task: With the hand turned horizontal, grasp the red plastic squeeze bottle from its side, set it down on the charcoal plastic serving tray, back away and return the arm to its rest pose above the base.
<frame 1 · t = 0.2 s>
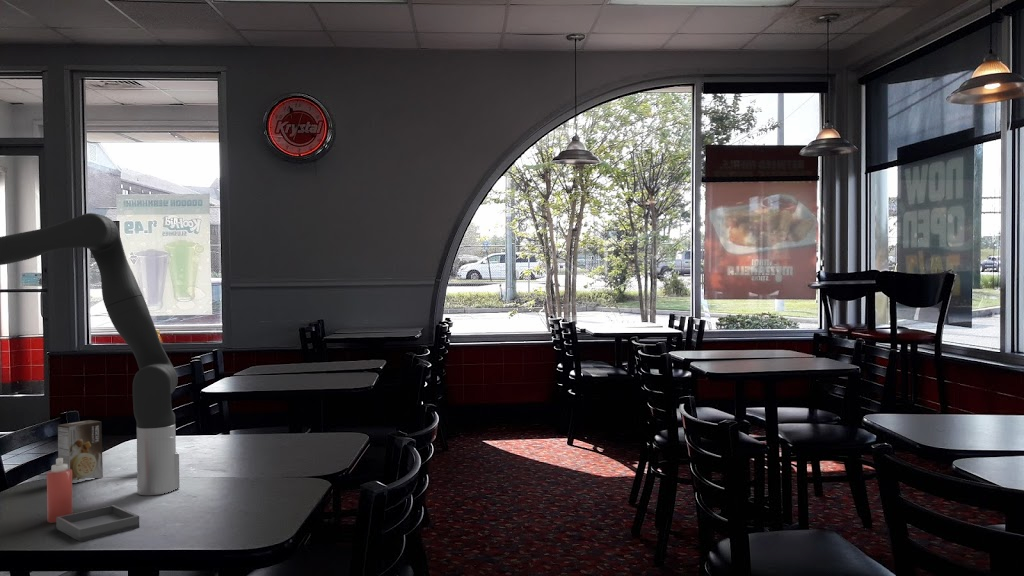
coffee box: (80, 480, 208), on the table
tray: (97, 527, 164), on the table
bottle: (60, 519, 171), on the table
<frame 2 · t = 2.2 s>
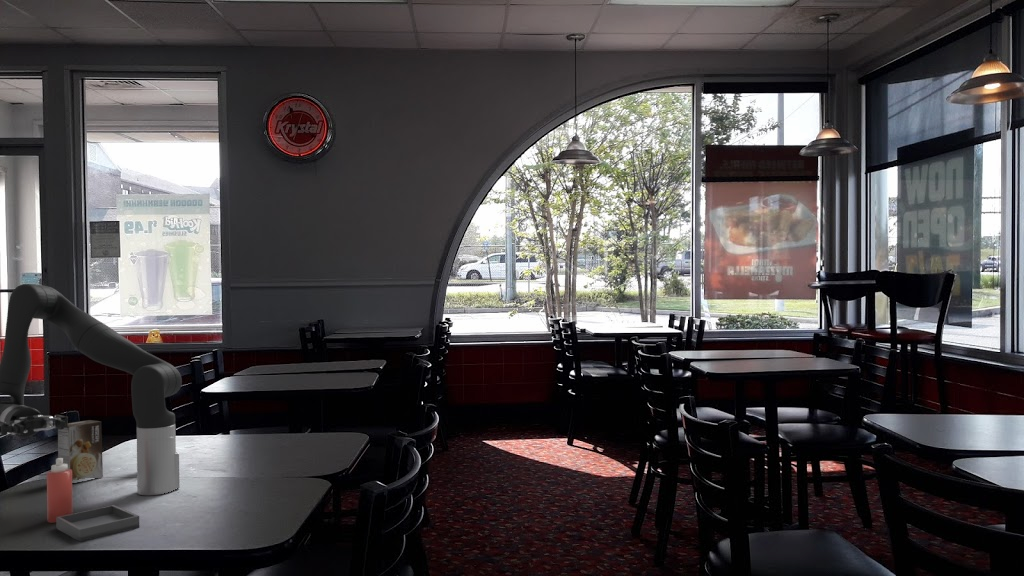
hand: (42, 427, 178), 20 cm above the table, tool horizontal, fingers open, 8 cm apart
nothing on the table moved.
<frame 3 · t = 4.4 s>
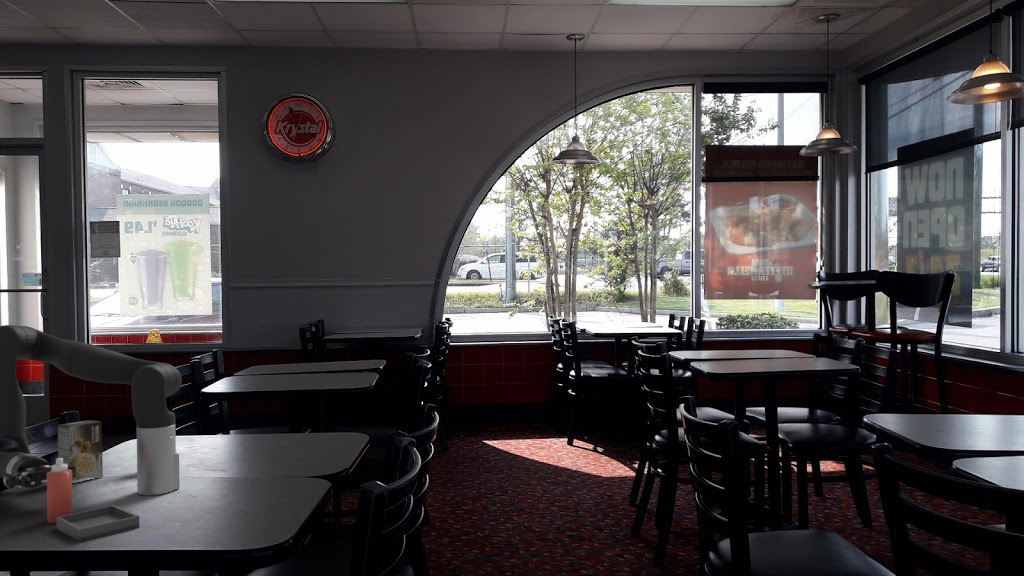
hand: (50, 480, 175), 8 cm above the table, tool horizontal, fingers open, 8 cm apart
nothing on the table moved.
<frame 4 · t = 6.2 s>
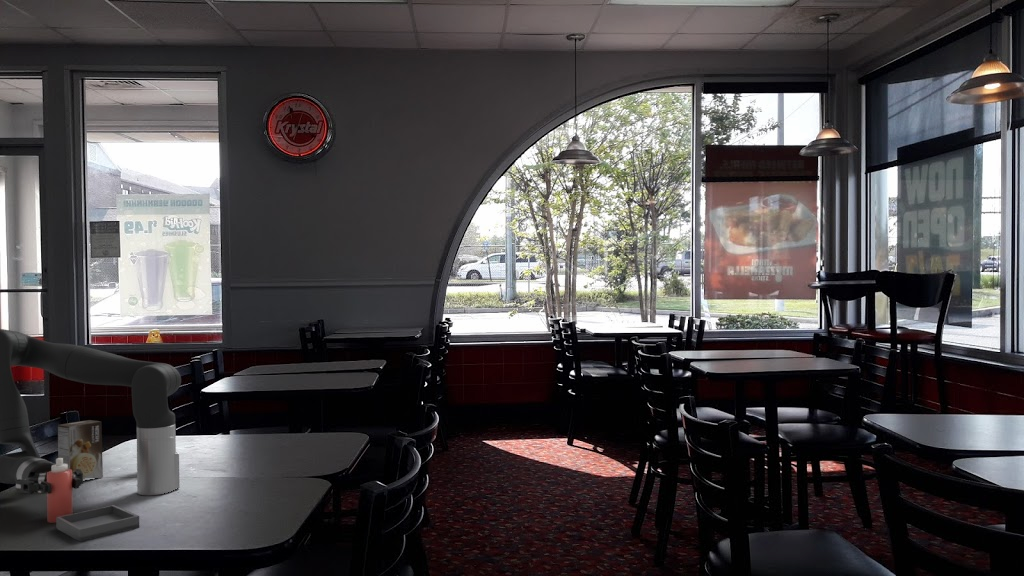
hand: (63, 486, 169), 8 cm above the table, tool horizontal, fingers closed on bottle, 5 cm apart
bottle: (60, 519, 171), on the table, touching gripper
everything else where it was.
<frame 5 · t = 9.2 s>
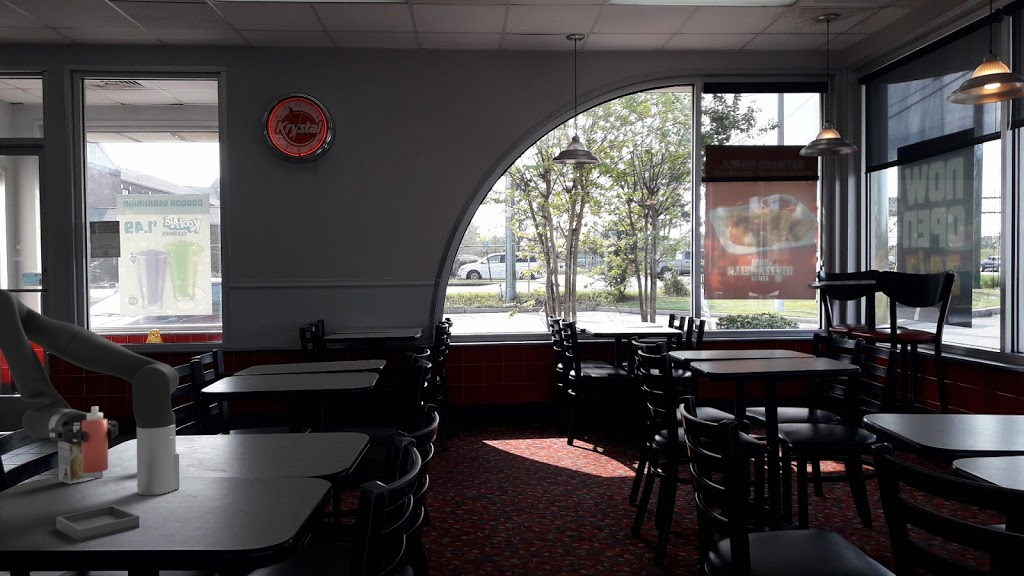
hand: (99, 435, 162), 21 cm above the table, tool horizontal, fingers closed on bottle, 5 cm apart
bottle: (94, 470, 164), point 13 cm above the table, touching gripper
everything else where it was.
when the fingers open (10 cm above the table, at t = 11.7 s): bottle drops 1 cm, resting on tray.
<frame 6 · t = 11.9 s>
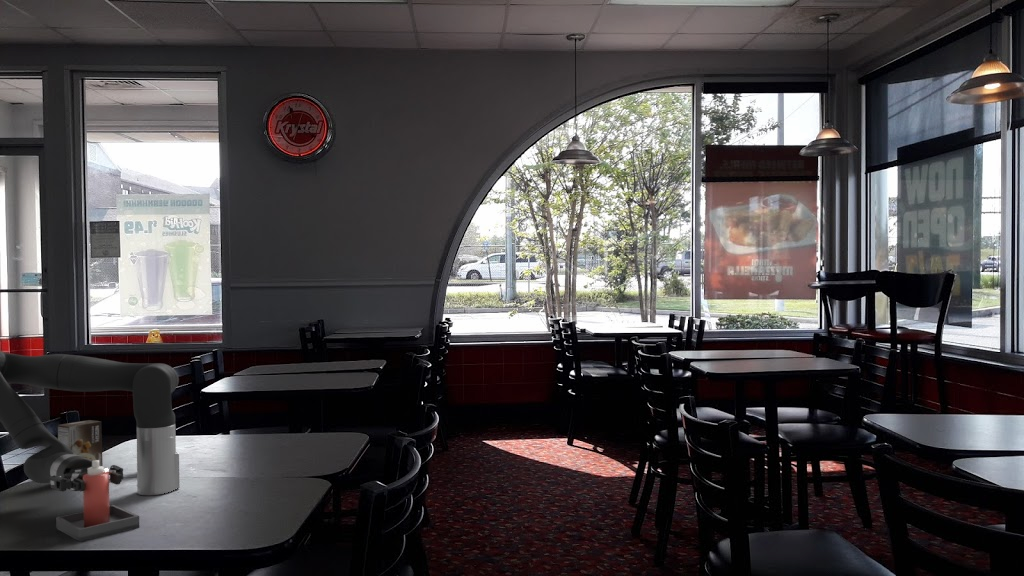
hand: (101, 482, 162), 10 cm above the table, tool horizontal, fingers open, 6 cm apart
bottle: (96, 524, 164), point 1 cm above the table, touching tray
everything else where it was.
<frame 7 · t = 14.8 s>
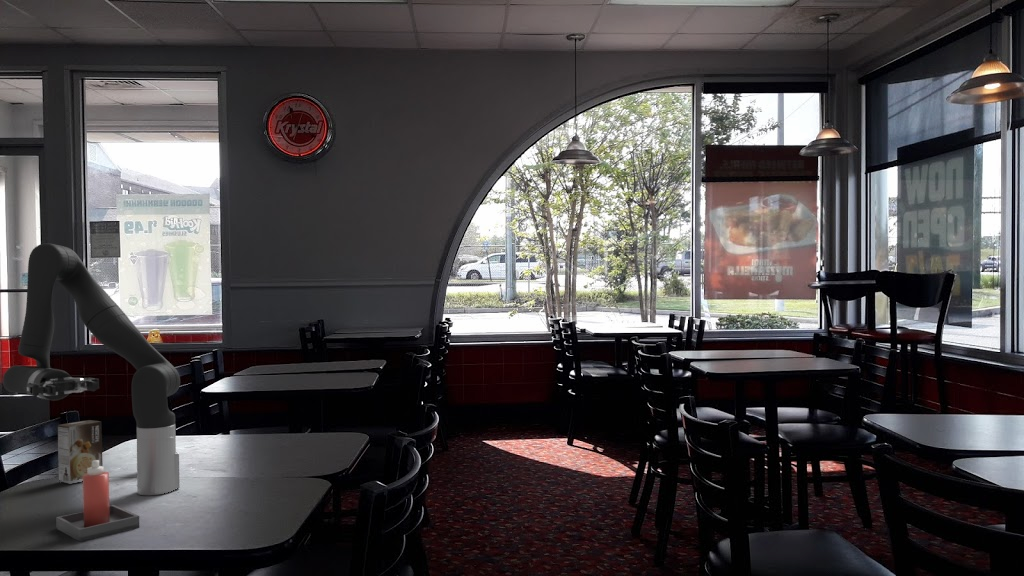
hand: (74, 388, 173), 30 cm above the table, tool horizontal, fingers open, 8 cm apart
nothing on the table moved.
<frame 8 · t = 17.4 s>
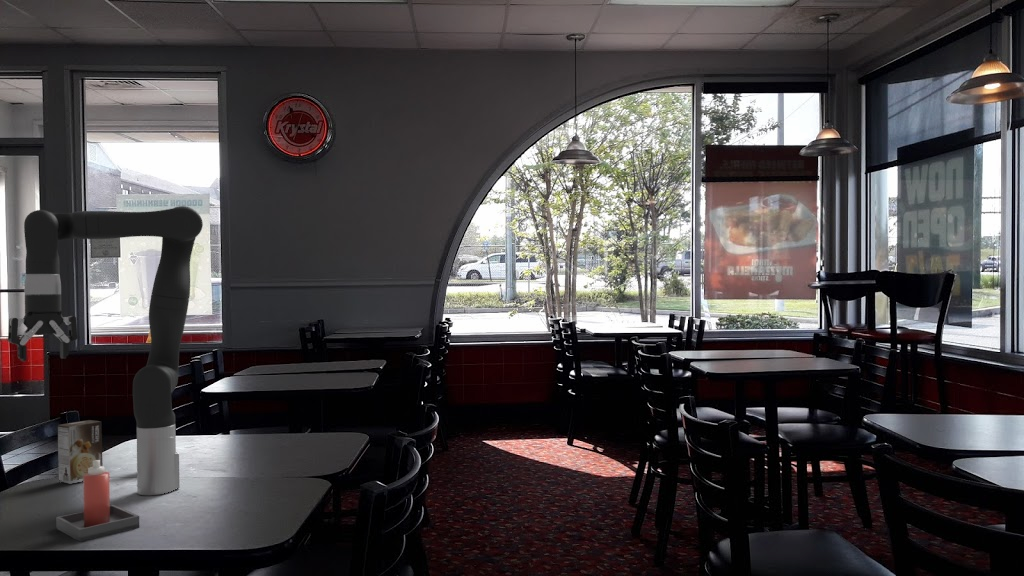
hand: (43, 359, 180), 36 cm above the table, tool pointing down, fingers open, 8 cm apart
nothing on the table moved.
at the end: bottle inside the target area on the tray (0.2 cm from its centre), point 0.8 cm above the tray's base; bottle tilted 0°; the gripper is holding nothing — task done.
